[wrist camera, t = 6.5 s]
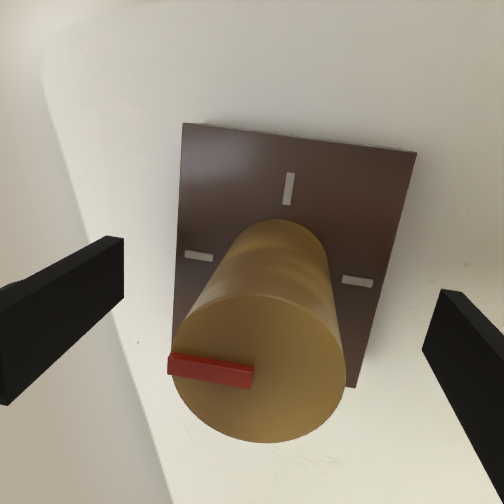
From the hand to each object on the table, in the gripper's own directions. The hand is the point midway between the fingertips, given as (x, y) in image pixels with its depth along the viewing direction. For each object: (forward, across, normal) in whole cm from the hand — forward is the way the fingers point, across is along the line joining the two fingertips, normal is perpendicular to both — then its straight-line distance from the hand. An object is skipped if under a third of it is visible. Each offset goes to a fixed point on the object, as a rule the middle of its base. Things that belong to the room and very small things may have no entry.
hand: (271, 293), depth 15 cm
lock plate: (+6, 0, 0) cm, 6 cm away
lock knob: (+3, 0, 0) cm, 3 cm away
